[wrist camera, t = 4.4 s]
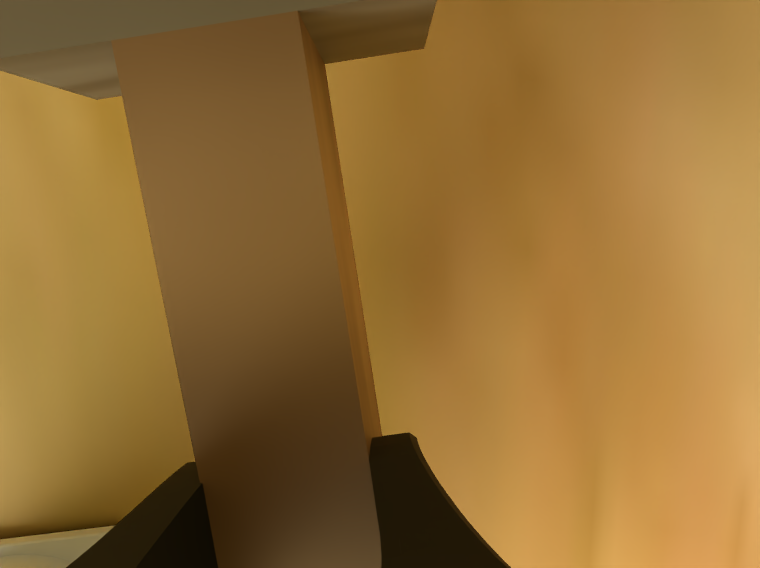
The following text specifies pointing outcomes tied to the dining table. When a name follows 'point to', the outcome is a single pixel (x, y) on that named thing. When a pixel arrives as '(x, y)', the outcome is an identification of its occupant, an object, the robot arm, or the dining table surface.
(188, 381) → the hammer
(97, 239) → the dining table surface
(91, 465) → the dining table surface
